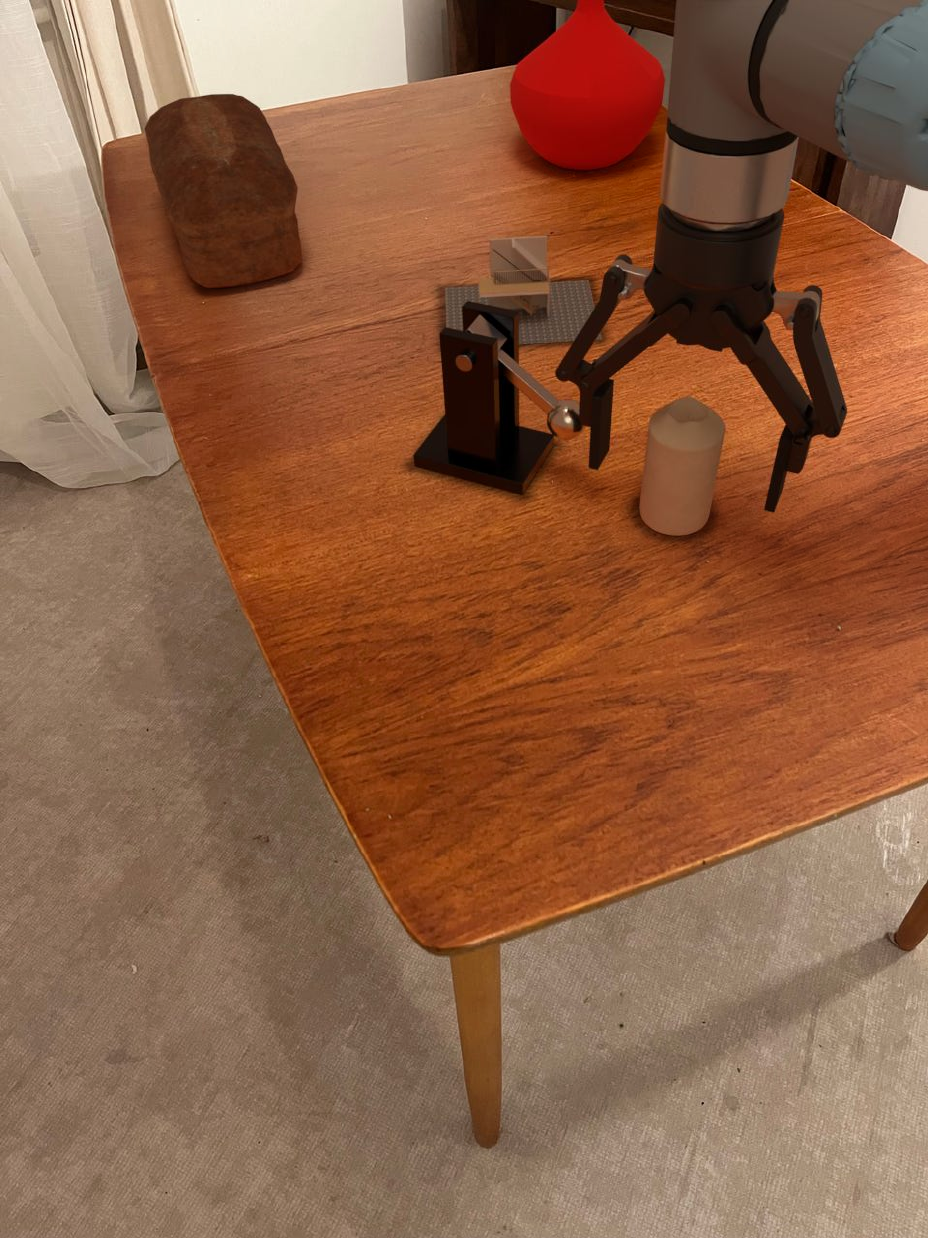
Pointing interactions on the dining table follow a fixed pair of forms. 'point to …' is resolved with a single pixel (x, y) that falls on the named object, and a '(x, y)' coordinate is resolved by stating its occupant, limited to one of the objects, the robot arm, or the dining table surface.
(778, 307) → the robot arm
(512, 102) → the vase
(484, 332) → the lever
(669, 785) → the dining table surface
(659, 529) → the candle
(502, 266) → the architectural model
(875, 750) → the dining table surface
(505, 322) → the bracket
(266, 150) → the bread
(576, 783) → the dining table surface
